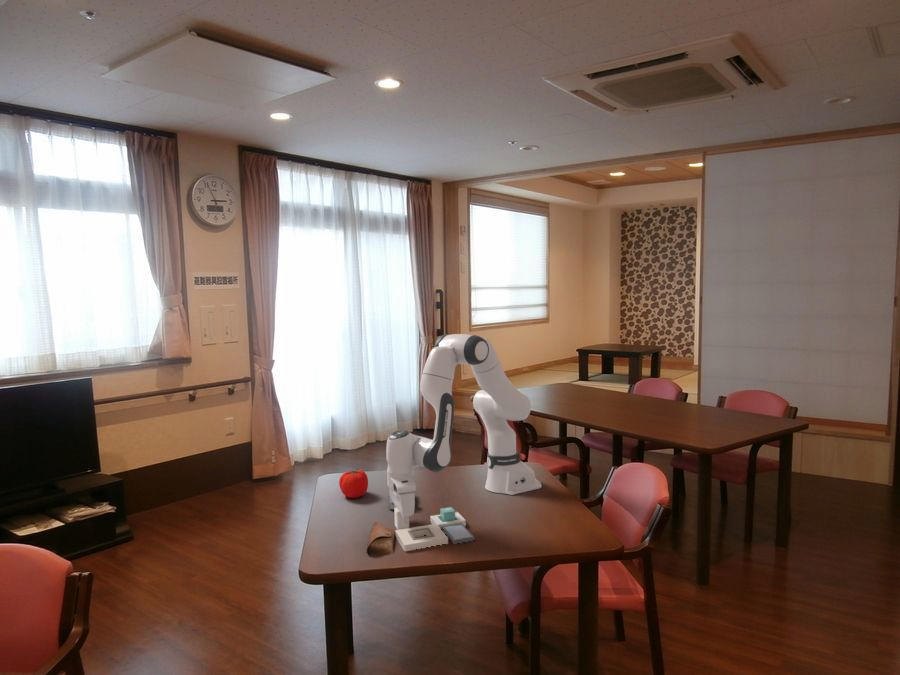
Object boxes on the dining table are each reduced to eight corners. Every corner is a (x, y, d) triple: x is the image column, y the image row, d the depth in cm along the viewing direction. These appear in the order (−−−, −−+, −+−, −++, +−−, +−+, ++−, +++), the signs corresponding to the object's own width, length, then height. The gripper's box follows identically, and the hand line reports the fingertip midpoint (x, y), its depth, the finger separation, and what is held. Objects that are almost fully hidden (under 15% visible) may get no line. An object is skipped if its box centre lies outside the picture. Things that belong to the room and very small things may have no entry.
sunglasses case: (395, 554, 178) (383, 536, 177) (375, 566, 178) (363, 548, 177) (397, 529, 195) (386, 513, 195) (379, 541, 196) (369, 524, 195)
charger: (406, 523, 201) (405, 506, 200) (409, 527, 197) (408, 510, 197) (394, 525, 200) (394, 507, 199) (397, 529, 196) (397, 511, 195)
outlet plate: (436, 529, 195) (436, 523, 195) (448, 544, 184) (447, 537, 184) (395, 536, 191) (395, 529, 190) (404, 551, 179) (404, 544, 179)
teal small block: (451, 521, 202) (451, 506, 202) (455, 525, 198) (455, 510, 198) (440, 522, 201) (440, 508, 200) (444, 527, 197) (443, 512, 197)
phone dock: (457, 517, 205) (457, 511, 205) (479, 540, 186) (478, 534, 186) (430, 521, 202) (430, 516, 201) (449, 545, 183) (448, 539, 183)
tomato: (371, 490, 235) (370, 464, 235) (365, 501, 223) (364, 474, 222) (343, 490, 236) (342, 465, 235) (336, 502, 223) (335, 475, 222)
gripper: (384, 472, 206) (385, 510, 207) (398, 490, 187) (399, 532, 188) (401, 469, 208) (403, 507, 209) (417, 487, 189) (418, 529, 190)
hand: (401, 519), depth 198 cm, fingers open, 7 cm apart
